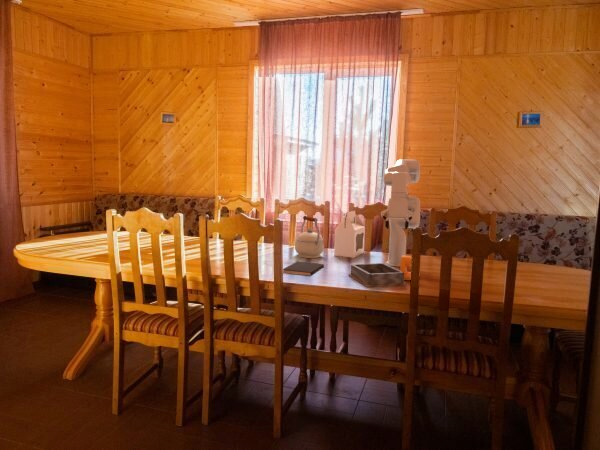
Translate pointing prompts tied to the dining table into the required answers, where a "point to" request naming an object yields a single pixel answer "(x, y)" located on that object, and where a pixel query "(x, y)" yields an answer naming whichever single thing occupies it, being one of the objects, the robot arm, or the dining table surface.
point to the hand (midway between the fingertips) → (396, 228)
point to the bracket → (405, 266)
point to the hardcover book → (303, 268)
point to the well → (377, 275)
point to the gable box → (349, 236)
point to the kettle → (309, 241)
